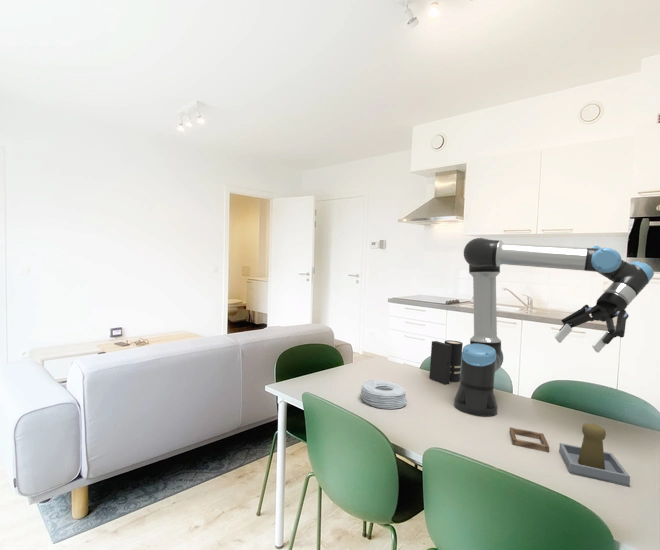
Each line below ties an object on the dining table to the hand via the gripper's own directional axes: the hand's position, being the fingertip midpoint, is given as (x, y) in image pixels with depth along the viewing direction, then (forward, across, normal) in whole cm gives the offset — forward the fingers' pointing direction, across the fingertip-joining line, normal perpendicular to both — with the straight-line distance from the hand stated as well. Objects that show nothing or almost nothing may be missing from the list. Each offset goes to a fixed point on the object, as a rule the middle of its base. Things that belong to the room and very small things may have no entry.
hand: (575, 344), depth 117 cm
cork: (+29, -17, -13) cm, 36 cm away
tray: (+29, -17, -13) cm, 36 cm away
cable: (+57, +34, +14) cm, 68 cm away
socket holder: (+33, -2, -9) cm, 34 cm away
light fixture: (+28, +57, -15) cm, 65 cm away
